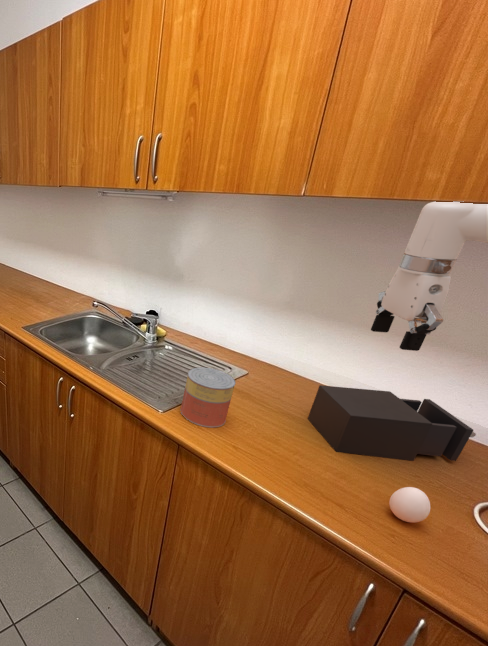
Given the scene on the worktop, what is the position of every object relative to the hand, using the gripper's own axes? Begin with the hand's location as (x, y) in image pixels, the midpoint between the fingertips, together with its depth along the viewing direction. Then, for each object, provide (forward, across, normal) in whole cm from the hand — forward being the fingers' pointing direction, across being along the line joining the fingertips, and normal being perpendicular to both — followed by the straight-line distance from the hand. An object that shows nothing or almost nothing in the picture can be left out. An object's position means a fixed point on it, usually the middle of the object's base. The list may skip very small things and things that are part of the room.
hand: (393, 340), depth 87 cm
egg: (+28, -24, +3) cm, 37 cm away
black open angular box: (+27, +2, -13) cm, 30 cm away
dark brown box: (+28, +2, -2) cm, 28 cm away
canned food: (+28, +4, +33) cm, 43 cm away
